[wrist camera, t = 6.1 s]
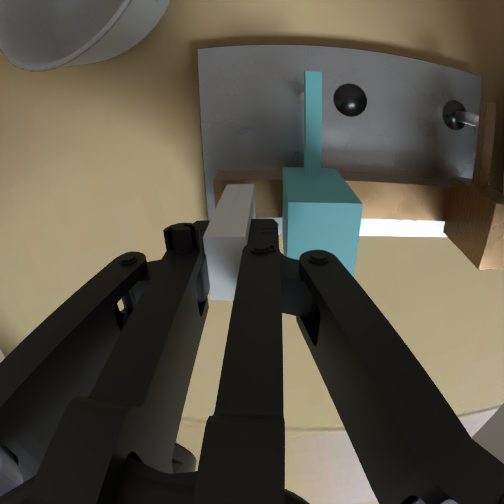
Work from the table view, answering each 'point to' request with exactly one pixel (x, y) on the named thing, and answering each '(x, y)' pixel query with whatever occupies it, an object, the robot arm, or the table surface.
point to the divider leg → (318, 194)
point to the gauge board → (358, 138)
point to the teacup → (73, 30)
